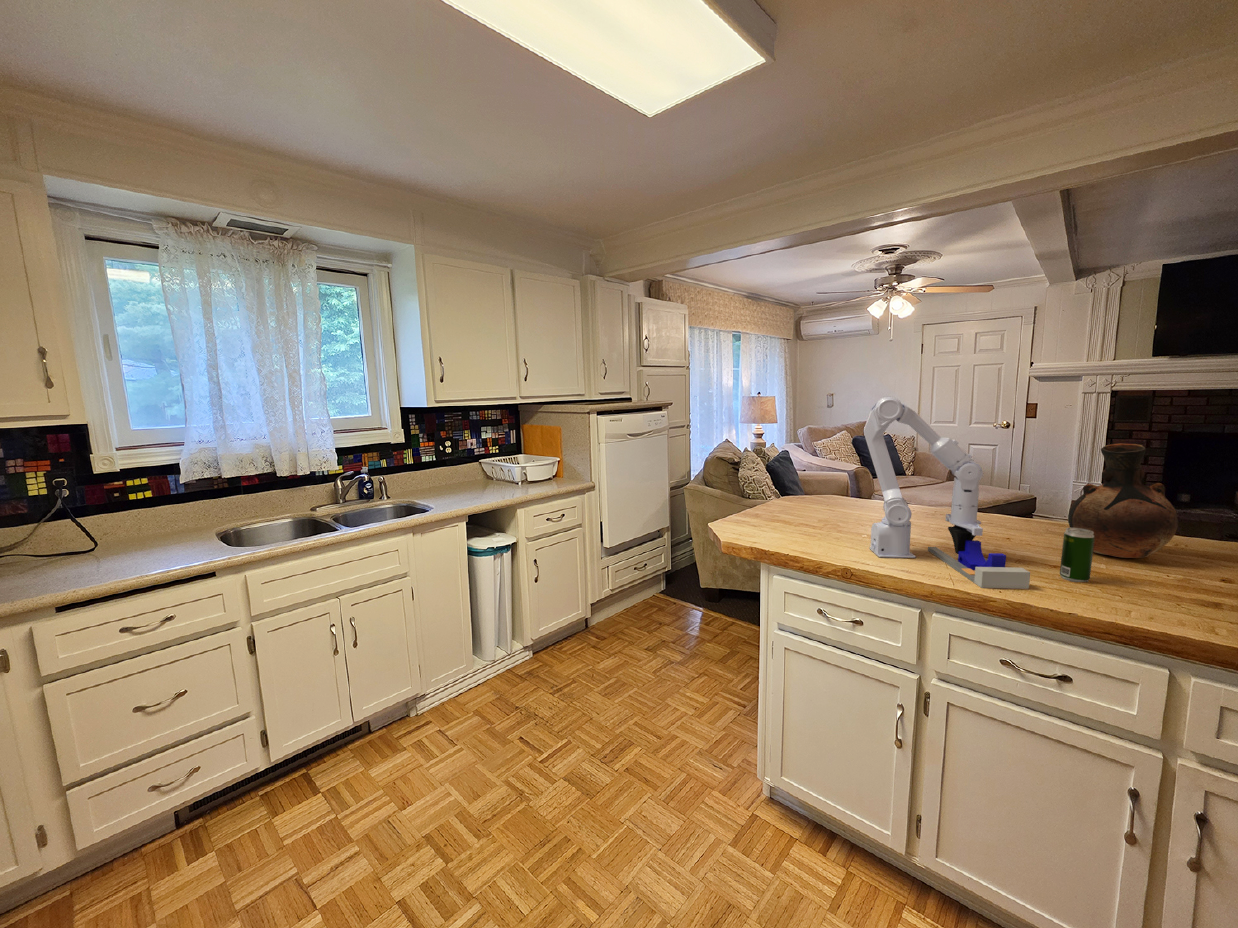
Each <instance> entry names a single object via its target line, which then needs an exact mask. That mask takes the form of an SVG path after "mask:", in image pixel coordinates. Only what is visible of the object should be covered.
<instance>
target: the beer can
mask: <svg viewBox="0 0 1238 928" xmlns="http://www.w3.org/2000/svg"><path fill="white" fill-rule="evenodd" d="M1094 540H1095V536H1094V532H1093V531H1091V530H1088V529H1082V528H1070V527H1066V528H1065V531H1064V532H1063V538H1062V547H1061V548H1062V549H1061V557H1060V568H1059V569H1060V570H1059V576H1060V578H1061V579H1063V580H1065V581H1068V582H1072V583H1073V582H1074V583H1078V582H1086V583H1088V582H1089V581H1090V579H1091V574H1092V564H1093V556H1094V555H1093V554H1094V552H1093V548H1094Z"/></svg>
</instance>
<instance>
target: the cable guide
mask: <svg viewBox="0 0 1238 928" xmlns="http://www.w3.org/2000/svg"><path fill="white" fill-rule="evenodd" d="M927 551H928V552H930V554H932V553H933V554H934V555H933V554H932V555H933V556H935V557H936V558H938V559H939V558H940V559H939V560H941V561H942V562H943V563H945V564H946V563H947V564H946V565H948V566H949V567H950V568H952V569H954V570H955V571H957V572H958V573H959V572H960V574H961V575H962V576H963V577H965V578H966V577H967V578H966V579H968V580H970V581H971V582H973V583H974V584H975V585H976V586H978V587H979V588H981V589H1014V590H1015V589H1016V590H1020V589H1022V590H1029V589H1030V580H1031V571H1029V570H1028V569H1025V568H1023V567H1013V566H1012V567H1010V566H1009V567H1007V566H1005V567H975V570H972V569H970V568H967V567H966V566H964V565H963V564H961V563H960V562H958V559H955V558H953V557H952V556H951V555H949V554H948V553H946V552H945V551H943V550H941V548H938V547H937V546H928V547H927ZM984 559H985V560H986V562H987V559H988V558H986V557H984Z"/></svg>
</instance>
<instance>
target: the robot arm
mask: <svg viewBox="0 0 1238 928" xmlns="http://www.w3.org/2000/svg"><path fill="white" fill-rule="evenodd" d="M895 421H896V422H898V423H901V424H904V425H907V426H908V427H910V428H911V429H912V430H914V432H915V433H917V434H918V435H919V436H920V437H922V438H923V439H924V441H926V442H927V443H928V444H929V446H930V449H929V451H930V454H932V455H933V457H935V458H936V460H938V461H939V462H940V463H941V464H942V465H943V466H944V467H945V468H946V469H947V470H949V471H951V474H952V475H953V476H955V477H954V478H953V486H952V495H951V496H952V497H951V511H950V513H946V514H945V522H948V523H950V524H952V525H953V526H948V527H947V530H948V532H949V533H950V536H951V538H952V542H953V546H954V547H953V548H954V552H955V554H956V555H958V552H959V551H965V541H966V540H974V539H975V538H976V536H978V537H979V536H980V537H981V536H982V537H983V531H984V529H983V527H981V524H982V521H980V520H979V519H977V518H978V508H979V507H978V506H979V496H980V495H979V494H980V493H979V492H980V487H979V485H980V481H981V480H982V478H983V477H984V472H983V470H982V467H981V465H980V464H979V463H977V462H976V461H975V460H974V459H972V458H973V456H972V454H970V453H966V452H965V451H964V450H963V449H962V448H961V447H960V446H959V445H958V444H959V441H957V440H956V439H951V438H950V437H941V436H940V435H939V434H938V433H937V432H936V431H935V430H934V429H933V428H932V427H931V426H930V425H929V424H928V423H927V422H926V421H925V419H923V418H922V416H920V415H919V414H918V413H917V412H916V411H915V410H913V409H912V408H910V406H909V407H908V406H907V405H905V404H904V403H902V401H901V400H899V399H898V398H896V397H893V396H889V395H888V396H883V397H881V398H879V399H878V400H877V401H876V402H875V403H874V405H873V406H872V407H871V408H870V412H869V415H868V418H867V420H866V423H865V425H864V428H863V434H864V435H863V436H864V437H865V442H866V444H867V449H868V451H869V455H870V458H871V460H872V464H873V466H874V470H875V473H876V477H877V480H878V483H879V486H880V490H881V493H882V496H883V507H882V508H883V512H884V515H885V516H884V517H883V518H881V521H879V522H874V523H872V525H871V530H870V546H869V549H870V550H871V551H872V552H873V553H874V554H875V555H876V556H877V557H878V558H904V559H905V558H908V559H910V558H912V559H913V558H914V559H915V558H916V555H915V554H913V553H912V552H911V550H910V549H911V548H910V547H911V531H912V522H911V521H910V520H911V519H912V514H913V513H912V510H911V508H910V507H909V503H908V502H907V500H906V499H905V498H904V497H903V495H902V491H901V489H900V486H899V482H898V479H897V477H896V473H895V470H894V466H893V462H892V460H891V456H890V453H889V451H888V447H887V443H886V440H885V437H884V433H885V431H886V430H887V429H888V428H889V426H890V425H891V424H892V423H894V422H895Z"/></svg>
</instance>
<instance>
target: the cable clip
mask: <svg viewBox="0 0 1238 928" xmlns="http://www.w3.org/2000/svg"><path fill="white" fill-rule="evenodd" d="M984 558H985V557H984V554H983V551H982V542H981V541H980V540H976V539H975V540H974V539H973V540H966V541H965V551H959V552H958V554H957V561H958V562H960V563H961V564H963V565H964V566H966V567H967V568H970V569H972V570H973V571H975V567H1006V561H1007V560H1006V559H1007V554H1004V553H1001V552H1000V553H995V552H994V553H992V552H990V553H988V557H987V558H986V559H987V562H986V560H985V559H984Z"/></svg>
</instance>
